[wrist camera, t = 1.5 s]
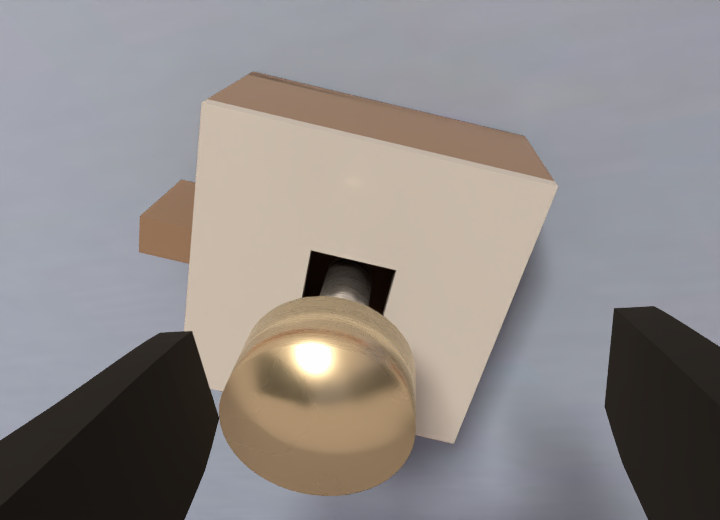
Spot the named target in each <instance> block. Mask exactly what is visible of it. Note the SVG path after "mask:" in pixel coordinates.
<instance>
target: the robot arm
mask: <svg viewBox="0 0 720 520" xmlns="http://www.w3.org/2000/svg"><path fill="white" fill-rule="evenodd" d="M605 409H606V413H607V416H608V419H609V423H610V426H611V429H612V432H613V436H614V439H615V442H616V445H617V448H618V451H619V454H620V457H621V460H622V463H623V465H624V468H625V470H626V472H627V474H628V477H629V479H630V481H631V483H632V485H633V488H634V490H635V492H636V494H637V496H638V499H639V501H640V503H641V505H642V507H643V509H644V512H645V514H646V516H647V518H648V520H720V347H719V346H718V345H716V344H715V343H713V342H711V341H710V340H708V339H707V338H705V337H704V336H702V335H700V334H699V333H697V332H696V331H694V330H693V329H691V328H690V327H688V326H686V325H685V324H683V323H682V322H680V321H678V320H677V319H675V318H674V317H672V316H670V315H669V314H667V313H665V312H664V311H662V310H660V309H658V308H656V307H655V306H650V307H631V308H614V315H613V325H612V336H611V346H610V356H609V366H608V377H607V387H606V397H605ZM218 421H219V417H218V413H217V410H216V407H215V404H214V400H213V397H212V394H211V391H210V387H209V384H208V381H207V378H206V374H205V371H204V368H203V365H202V361H201V358H200V355H199V351H198V348H197V345H196V342H195V338H194V335H193V332H192V331H184V332H165V333H159V334H157V335H156V336H154V337H152V338H150V339H149V340H147V341H146V342H144V343H142V344H141V345H139V346H138V347H136V348H135V349H133V350H132V351H130V352H129V353H128V354H126V355H125V356H123V357H122V358H120V359H119V360H117V361H116V362H115V363H113V364H112V365H110V366H109V367H108V368H106V369H105V370H103V371H102V372H100V373H99V374H98V375H96V376H95V377H93V378H92V379H91V380H89V381H88V382H86V383H85V384H83V385H82V386H81V387H79V388H78V389H76V390H75V391H73V392H72V393H71V394H69V395H68V396H66V397H65V398H64V399H62V400H61V401H59V402H58V403H56V404H55V405H53V406H52V407H50V408H49V409H47V410H46V411H44V412H43V413H41V414H40V415H38V416H37V417H35V418H34V419H32V420H31V421H29V422H28V423H26V424H25V425H23V426H22V427H20V428H19V429H17V430H15V431H14V432H12V433H11V434H9V435H8V436H6V437H5V438H3V439H2V440H0V520H184V519H185V517H186V515H187V512H188V510H189V508H190V505H191V503H192V500H193V498H194V496H195V493H196V491H197V489H198V486H199V484H200V481H201V479H202V476H203V474H204V471H205V468H206V465H207V461H208V458H209V455H210V451H211V448H212V444H213V440H214V436H215V432H216V428H217V424H218Z"/></svg>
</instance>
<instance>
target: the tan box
mask: <svg viewBox="0 0 720 520" xmlns="http://www.w3.org/2000/svg"><path fill="white" fill-rule="evenodd" d="M557 188H558V186H557V184H556V183H555V181H554V180H553V178H552V177H551V175H550V174H549V172H548V171H547V169H546V168H545V166H544V164H543V163H542V161H541V160H540V158H539V157H538V155H537V154H536V152H535V151H534V149H533V148H532V146H531V145H530V143H529V142H528V140H527V139H526V137H525V136H522V135H518V134H514V133H509V132H505V131H501V130H497V129H493V128H488V127H484V126H480V125H476V124H472V123H467V122H463V121H459V120H455V119H451V118H446V117H442V116H438V115H434V114H430V113H425V112H421V111H417V110H413V109H409V108H404V107H400V106H396V105H392V104H388V103H383V102H379V101H375V100H371V99H366V98H362V97H358V96H354V95H350V94H345V93H341V92H337V91H333V90H329V89H324V88H320V87H316V86H312V85H308V84H303V83H299V82H295V81H291V80H287V79H282V78H278V77H274V76H270V75H266V74H261V73H257V72H251V73H250V74H248V75H246V76H245V77H243V78H241V79H240V80H238V81H236V82H235V83H233V84H231V85H230V86H228V87H226V88H225V89H223V90H221V91H220V92H218V93H216V94H215V95H213V96H211V97H210V98H208V99H207V100H205V101H203V102H202V105H201V118H200V131H199V144H198V157H197V170H196V183H194V182H189V181H185V180H180V181H179V182H178V183H177V184H176V185H175V186H174V187H173V188H171V189H170V190H169V191H168V192H167V193H166V194H165V195H163V196H162V197H161V198H160V199H159V200H158V201H157V202H155V203H154V204H153V205H152V206H151V207H150V208H149V209H147V210H146V211H145V212H144V213H143V214H142V215H141V216H140V235H139V252H141V253H145V254H150V255H154V256H158V257H163V258H167V259H171V260H176V261H180V262H184V263H188V264H189V275H188V288H187V301H186V314H185V327H184V331H192V332H193V335H194V338H195V342H196V345H197V348H198V351H199V355H200V358H201V361H202V365H203V368H204V371H205V374H206V378H207V381H208V384H209V387H210V389H215V390H219V391H223V390H224V388H225V386H226V383H227V381H228V379H229V377H230V375H231V373H232V370H233V368H234V366H235V364H236V362H237V360H238V358H239V355H240V353H241V351H242V349H243V347H244V345H245V342H246V340H247V338H248V336H249V334H250V332H251V331H252V329H253V327H254V326H255V325H256V323H257V322H258V321H259V320H260V319H261V318H262V317H263V316H264V315H266V314H267V313H268V312H269V311H271V310H272V309H274V308H276V307H277V306H279V305H282V304H284V303H286V302H289V301H292V300H295V299H299V298H305V297H313V296H320V293H321V289H322V286H323V283H324V279H325V276H326V273H327V269H328V266H329V264H330V263H331V262H332V260H334V259H335V258H336V257H342V258H346V259H350V260H355V261H359V262H363V263H367V264H369V265H370V266H371V269H372V272H373V279H372V286H371V293H370V300H369V307H370V308H371V309H373V310H375V311H377V312H379V313H380V314H381V315H383V316H384V317H386V318H387V319H388V320H389V321H390V322H391V323H393V324H394V325H395V326H396V327H397V328H398V330H399V331H400V332H401V333H402V335H403V336H404V337H405V339H406V341H407V342H408V344H409V346H410V349H411V351H412V353H413V357H414V361H415V369H416V431H415V435H417V436H421V437H426V438H430V439H435V440H439V441H443V442H448V443H452V444H454V442H455V439H456V437H457V434H458V432H459V430H460V427H461V425H462V422H463V420H464V417H465V415H466V412H467V410H468V407H469V405H470V402H471V400H472V398H473V395H474V393H475V390H476V388H477V385H478V383H479V380H480V378H481V375H482V373H483V370H484V368H485V366H486V363H487V361H488V358H489V356H490V353H491V351H492V348H493V346H494V343H495V341H496V338H497V336H498V334H499V331H500V329H501V326H502V324H503V321H504V319H505V316H506V314H507V311H508V309H509V306H510V304H511V302H512V299H513V297H514V294H515V292H516V289H517V287H518V284H519V282H520V279H521V277H522V274H523V272H524V270H525V267H526V265H527V262H528V260H529V257H530V255H531V252H532V250H533V247H534V245H535V242H536V240H537V238H538V235H539V233H540V230H541V228H542V225H543V223H544V220H545V218H546V215H547V213H548V210H549V208H550V206H551V203H552V201H553V198H554V196H555V193H556V191H557Z"/></svg>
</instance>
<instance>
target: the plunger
mask: <svg viewBox="0 0 720 520" xmlns="http://www.w3.org/2000/svg"><path fill="white" fill-rule="evenodd" d="M372 279H373V272H372V269H371V266H370V265H369V264H367V263H363V262H359V261H355V260H350V259H346V258H342V257H336V258H335V259H334V260H332V262H331V263H330V264H329V266H328V269H327V273H326V276H325V279H324V283H323V286H322V289H321V293H320V296H313V297H305V298H299V299H295V300H292V301H289V302H286V303H284V304H282V305H279V306H277V307H276V308H274V309H272V310H271V311H269V312H268V313H267V314H266V315H264V316H263V317H262V318H261V319H260V320H259V321H258V322H257V323H256V325H255V326H254V327H253V329H252V331H251V332H250V334H249V336H248V338H247V340H246V342H245V345H244V347H243V349H242V351H241V353H240V355H239V358H238V360H237V362H236V364H235V366H234V368H233V370H232V373H231V375H230V377H229V379H228V381H227V383H226V386H225V388H224V390H223V393H222V395H221V400H220V404H219V418H220V425H221V428H222V431H223V434H224V436H225V439H226V441H227V443H228V444H229V446H230V447H231V449H232V451H233V452H234V453H235V454H236V456H237V457H238V458H239V459H240V460H241V461H242V462H243V463H244V464H245V465H246V466H247V467H248V468H250V469H251V470H252V471H254V472H255V473H256V474H258V475H259V476H261V477H263V478H264V479H266V480H268V481H270V482H272V483H274V484H276V485H278V486H281V487H283V488H286V489H289V490H292V491H296V492H300V493H305V494H311V495H321V496H338V495H348V494H353V493H358V492H361V491H364V490H367V489H370V488H372V487H375V486H377V485H379V484H381V483H382V482H384V481H386V480H387V479H389V478H390V477H391V476H393V475H394V474H395V473H396V472H397V471H398V470H399V469H400V468H401V467H402V466H403V465H404V463H405V462H406V460H407V459H408V457H409V455H410V453H411V451H412V448H413V444H414V440H415V431H416V369H415V361H414V357H413V353H412V351H411V349H410V346H409V344H408V342H407V341H406V339H405V337H404V336H403V335H402V333H401V332H400V331H399V330H398V328H397V327H396V326H395V325H394V324H393V323H391V322H390V321H389V320H388V319H387V318H386V317H384V316H383V315H381V314H380V313H379V312H377V311H375V310H373V309H371V308H370V307H369V300H370V293H371V286H372Z"/></svg>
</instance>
